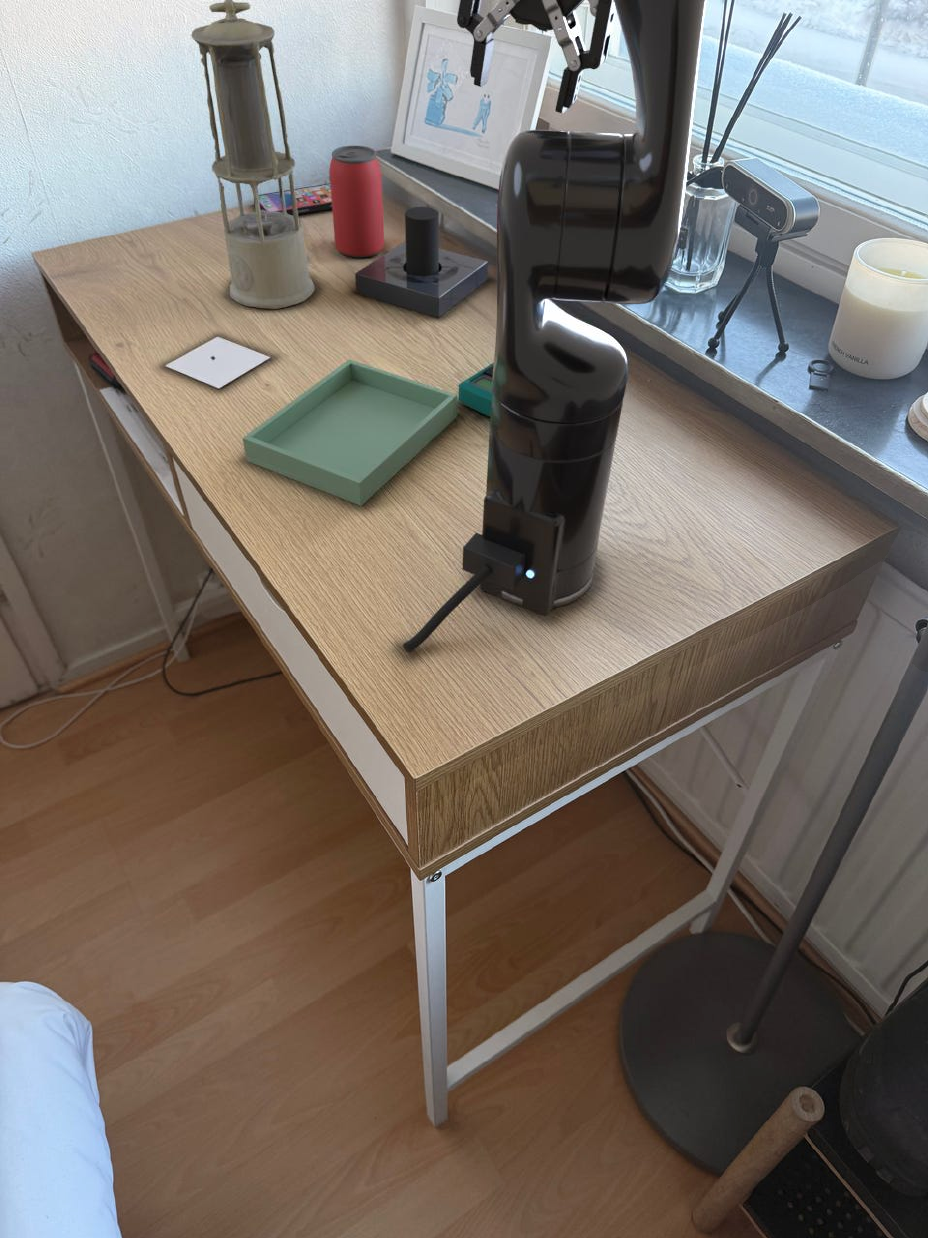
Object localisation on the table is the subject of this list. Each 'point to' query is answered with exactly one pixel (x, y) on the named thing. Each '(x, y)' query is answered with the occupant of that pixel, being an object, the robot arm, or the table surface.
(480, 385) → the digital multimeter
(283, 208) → the lamp
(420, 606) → the table surface
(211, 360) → the coaster
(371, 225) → the beer can
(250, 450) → the basin tray
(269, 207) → the smartphone
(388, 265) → the drain plate
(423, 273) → the black cylinder
